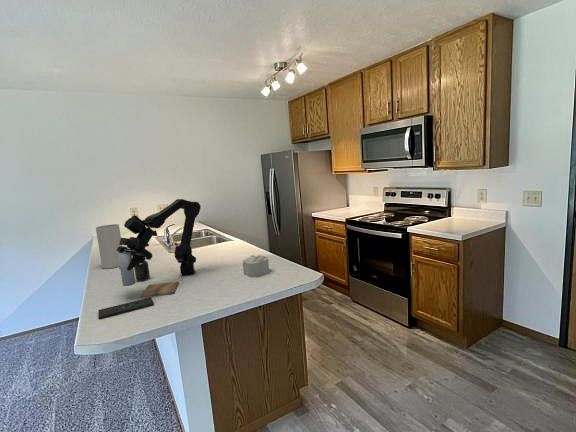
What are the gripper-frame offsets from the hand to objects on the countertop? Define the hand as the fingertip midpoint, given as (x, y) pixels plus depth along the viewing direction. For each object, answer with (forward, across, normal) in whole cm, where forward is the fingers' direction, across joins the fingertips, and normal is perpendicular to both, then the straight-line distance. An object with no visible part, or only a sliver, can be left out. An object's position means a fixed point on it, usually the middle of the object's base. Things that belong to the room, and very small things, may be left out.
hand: (124, 269), depth 142 cm
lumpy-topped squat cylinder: (-24, +36, +44) cm, 62 cm away
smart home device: (+15, +10, +5) cm, 19 cm away
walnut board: (+1, +6, +18) cm, 19 cm away
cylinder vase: (-11, -60, +31) cm, 69 cm away
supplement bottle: (-4, -17, +23) cm, 29 cm away
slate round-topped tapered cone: (+4, 0, +6) cm, 7 cm away
